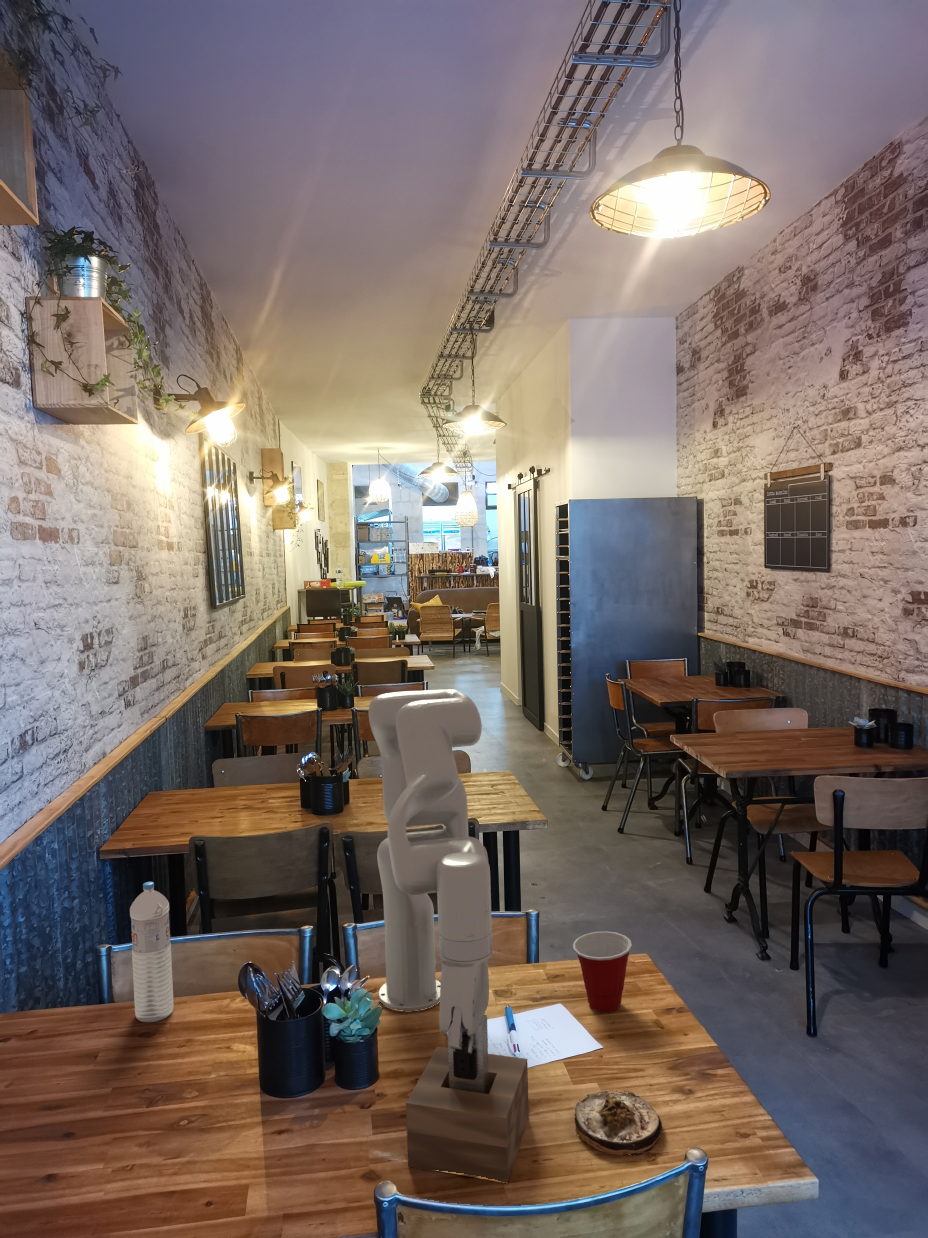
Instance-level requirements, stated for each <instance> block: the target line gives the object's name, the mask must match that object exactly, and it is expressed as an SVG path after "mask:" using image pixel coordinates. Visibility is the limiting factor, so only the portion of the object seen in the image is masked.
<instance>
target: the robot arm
mask: <svg viewBox="0 0 928 1238" xmlns="http://www.w3.org/2000/svg"><path fill="white" fill-rule="evenodd" d="M481 718H482V717H481V714H480V713H479V709H478V707H477V706H476V704H475V702H474V701H473V700H472V698H470V696H468V695H466V694H465V693H463V692H462V691H459V690H458V689H454V688H445V689H443V688H442V689H426V690H404V691H393V692H387V693H382V694H379V695H377V696H375V697H373V698H372V699H371V701H370V702H369V704H368V720H369V721H368V722H369V726H370V729H371V733H372V735H373V737H374V740H375V742H376V745H377V747H378V750H379V754H380V757H381V758H380V760H381V775H382V776H381V777H382V802H383V803H382V804H383V805H382V806H383V813H384V817H385V821H386V822H387V837H386V838H385V839H383V840H382V841H381V842H380V844H379V846H378V848H377V855H376V856H377V857H376V859H377V866H378V871H379V876H380V877H379V878H380V882H381V889H382V900H383V919H384V920H383V921H384V922H383V924H384V925H383V926H384V950H385V954H384V955H385V956H384V957H385V978H386V979H385V981H386V982H385V983H383V985H382V986H380V988H379V990H378V1001H379V1000H380V1001H379V1003H380V1002H381V1003H383V1004H384V1005H385V1006H386V1007H388V1008H391V1009H397V1010H403V1011H415V1010H421V1009H425V1008H429V1007H431V1006H433V1005H435V1004H437V1003H438V1002H439V1001H440V1003H438V1004H439V1031H440V1032H441V1034H445V1033H446V1034H448V1030H449V1028H450V1026H451V1024H452V1032H451V1042H450V1048H452V1049H453V1066H454V1076H455V1077H456V1078H463V1079H470V1080H475V1079H476V1077H477V1067H476V1050H474V1033H475V1031H476V1029H477V1028H478V1026H479V1024H480V1022H481V1019H482V1017H483V1015H485V1013H486V1011H487V1008H488V1004H489V1001H490V1000H489V999H490V998H489V997H490V981H489V962H488V960H489V959H490V958H491V957H492V955H493V933H492V932H493V931H492V897H491V896H492V893H491V889H492V887H491V870H490V869H491V868H490V864H489V857H488V852H487V848H486V846H484V845H483V843H482V842H481V841H480V840H479V839H477V838H476V837H473V836H469V811H468V809H469V808H468V797H467V792H466V788H465V786H464V782H463V781H462V779H461V778H460V776H459V772H458V768H457V764H456V758H455V755H454V750H453V748H462V747H464V748H465V747H471V746H475V745H476V744H477V743H478V742H479V741H480V739H481V737H482V720H481ZM439 825H441V826H442V827H443V828H442V829H435V830H425V831H413V832H412V831H411V832H407V829H408V828H419V827H431V826H439ZM435 893H436V895H437V897H436V898H437V924H438V925H437V928H438V929H437V930H438V931H437V933H438V956H439V958H440V959H441V960H442V963H441V971H440V972H441V973H440V980H438V979H437V976H436V972H437V971H436V964H437V961H438V960H437V958H436V946H435V909H434V905H433V904H434V903H433V901H432V899H431V898H430V896H429V895H428V894H435ZM381 1003H380V1004H381ZM438 1004H437V1005H438ZM385 1006H384V1007H385ZM435 1006H436V1005H435ZM386 1007H385V1008H386ZM388 1008H387V1009H388ZM429 1009H430V1008H429ZM463 1026H464V1027H465V1028H463ZM462 1035H464V1036H468V1042H467V1040H466V1039H462Z"/></svg>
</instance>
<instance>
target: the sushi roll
mask: <svg viewBox="0 0 928 1238" xmlns="http://www.w3.org/2000/svg"><path fill="white" fill-rule="evenodd" d="M615 1092H616V1093H615ZM615 1092H614V1090H613V1089H612V1092H611V1091H609V1092H608V1091H606V1090H603V1091H597V1092H593V1093H589V1094H586V1097H584V1098H583V1099H580V1101H578V1102H576V1107H575V1109H574V1111H575V1112H574V1124H575V1128H576V1129H575V1132H576V1131H577V1134H578V1135H579V1137H580V1138H581V1139H580V1140H582V1139H583V1141H584V1140H585V1141H586V1142H587V1143H586V1142H585V1141H584V1142H585V1143H586V1144H588V1145H589V1144H590V1145H589V1146H591V1147H592V1146H593V1147H592V1148H594V1149H595V1150H597V1149H598V1151H600V1150H602V1151H601V1152H603V1151H604V1153H606V1154H609V1153H611V1154H610V1155H614V1154H617V1155H616V1156H623V1155H622V1154H625V1153H626V1154H630V1155H632V1156H631V1157H634V1156H633V1155H636V1156H640V1155H643V1153H647V1152H650V1151H652V1149H653V1148H654V1146H656V1144H657V1143H658V1142H659V1140H660V1138H661V1137H660V1136H661V1134H662V1129H663V1123H662V1120H661V1118H660V1115H658V1113H657V1112H656V1110H655V1109H654V1108H653V1107H652V1106H651V1105H650V1104H649V1103H648V1102H647V1101H646V1100H645V1099H644V1098H643V1097H641V1096H640V1095H636V1094H635V1093H634V1092H633V1091H628V1090H626V1089H625V1090H623V1091H620V1092H618V1090H615ZM577 1134H576V1135H577ZM579 1137H578V1138H579ZM626 1154H625V1155H626ZM636 1156H635V1157H636Z"/></svg>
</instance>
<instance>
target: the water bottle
mask: <svg viewBox="0 0 928 1238" xmlns="http://www.w3.org/2000/svg"><path fill="white" fill-rule="evenodd" d="M154 886H155V883H154V881H147V882H144V883H143V884H142V890H143V892H141V893H140V894H139V895H137V897H136V898H135V899H134V901H133V902H132V903H131V906H130V907H129V917H130V921H131V923H130V924H131V943H132V944H131V945H132V946H131V954H132V955H131V958H132V973H133V974H132V979H133V981H132V982H133V994H134V995H133V998H134V1001H133V1002H134V1013H135V1017H136V1019H137V1020H138V1021H140V1022H141V1023H155V1022H159V1021H162V1020H164V1019H166V1018H167V1017H169V1016H170V1015H171V1014H172V1013H173V1011H174V990H173V989H174V986H173V984H174V982H173V968H172V965H173V963H172V960H173V959H172V943H171V935H170V933H171V932H170V931H171V930H170V913H169V911H170V903H169V901H168V899H167V898H166V896H165V895H164V894H162V893H161V892H159V891H157V890H154V888H155V887H154Z"/></svg>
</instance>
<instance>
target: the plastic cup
mask: <svg viewBox="0 0 928 1238" xmlns="http://www.w3.org/2000/svg"><path fill="white" fill-rule="evenodd" d="M572 945H573V946H572V947H573V951H574V952H575V953H576V955H577V959H578V962H579V964H580V968H581V972H582V978H583V979H582V980H583V984H584V988H585V991H586V997H587V1002H588V1005H589V1007H590V1008H591V1009H592V1010H593V1011H595V1012H599V1013H603V1014H604V1013H614V1012H616V1011H618V1010H619V1009H620V1007H621V1004H622V999H623V998H622V997H623V991H624V987H625V986H624V985H625V980H626V972H627V965H628V960H629V955H630V950H631V949H632V941H631V939H630V938H629V937H627V936H626V935H624V934H621V933H619V932H614V931H613V932H612V931H592V932H589V933H585V934H583V935H581V936H580V937H577V938H576V939H575V940H574V942H573V944H572Z"/></svg>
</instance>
